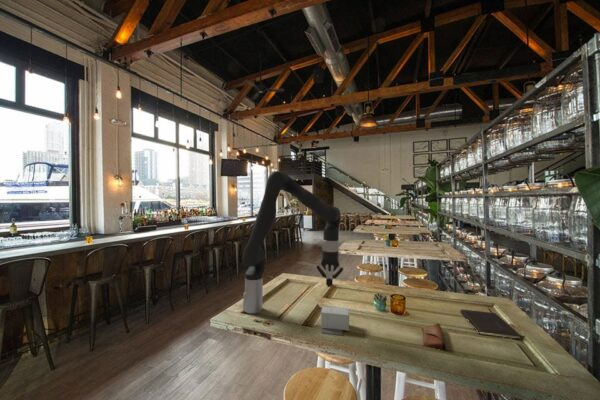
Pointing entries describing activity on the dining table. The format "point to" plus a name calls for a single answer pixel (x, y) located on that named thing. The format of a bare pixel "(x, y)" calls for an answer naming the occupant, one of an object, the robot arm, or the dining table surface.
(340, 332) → the dark grey rectangular panel
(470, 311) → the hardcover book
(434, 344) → the sunglasses case
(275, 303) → the dining table surface
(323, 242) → the robot arm
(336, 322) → the supplement box
